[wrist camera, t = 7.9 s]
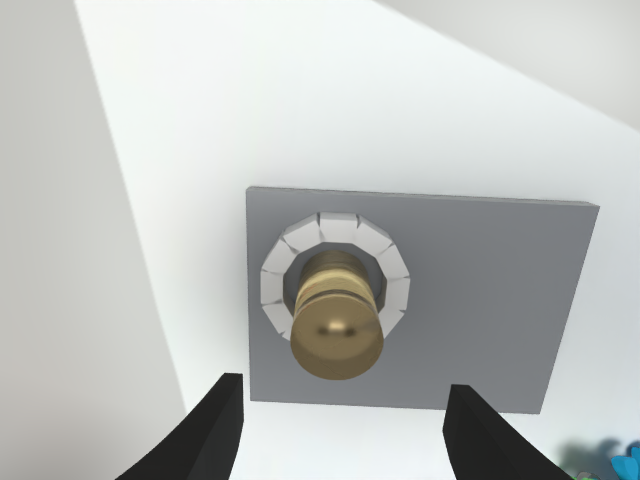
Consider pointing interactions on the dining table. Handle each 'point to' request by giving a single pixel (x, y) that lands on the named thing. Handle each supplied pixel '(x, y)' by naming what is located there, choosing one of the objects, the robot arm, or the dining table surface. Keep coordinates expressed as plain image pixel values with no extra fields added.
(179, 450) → the robot arm
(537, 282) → the housing plate
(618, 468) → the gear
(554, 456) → the dining table surface
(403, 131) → the dining table surface
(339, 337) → the brass shaft
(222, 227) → the dining table surface
